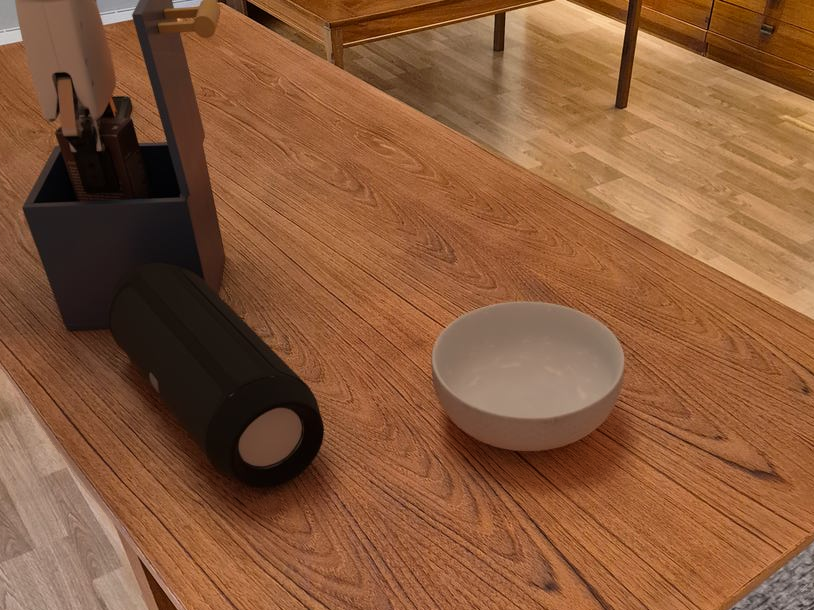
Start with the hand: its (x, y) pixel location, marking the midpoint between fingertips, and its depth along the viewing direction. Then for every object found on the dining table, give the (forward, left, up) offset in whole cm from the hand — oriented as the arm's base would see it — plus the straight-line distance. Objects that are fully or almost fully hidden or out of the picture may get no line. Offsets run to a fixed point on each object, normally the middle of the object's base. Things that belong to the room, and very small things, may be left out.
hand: (107, 176), depth 86 cm
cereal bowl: (+38, -25, -13) cm, 47 cm away
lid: (+8, 0, +9) cm, 11 cm away
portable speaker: (+10, -22, -13) cm, 27 cm away
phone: (-12, +46, -13) cm, 49 cm away
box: (0, 0, -7) cm, 7 cm away
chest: (+1, 0, -13) cm, 13 cm away
